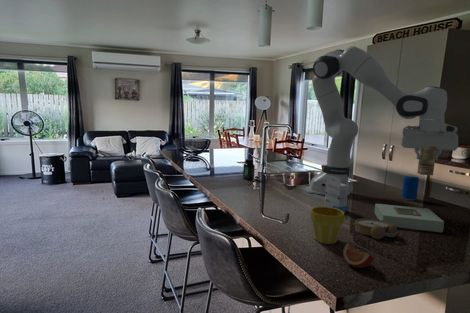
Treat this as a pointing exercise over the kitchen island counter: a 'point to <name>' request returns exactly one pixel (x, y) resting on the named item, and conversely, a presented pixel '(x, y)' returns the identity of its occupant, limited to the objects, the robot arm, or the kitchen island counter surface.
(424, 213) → the board
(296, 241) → the kitchen island counter surface
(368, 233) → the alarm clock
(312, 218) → the plant pot
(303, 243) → the kitchen island counter surface
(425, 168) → the leg
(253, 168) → the supplement bottle
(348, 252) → the fruit slice
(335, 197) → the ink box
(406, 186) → the beverage can
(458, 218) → the kitchen island counter surface
